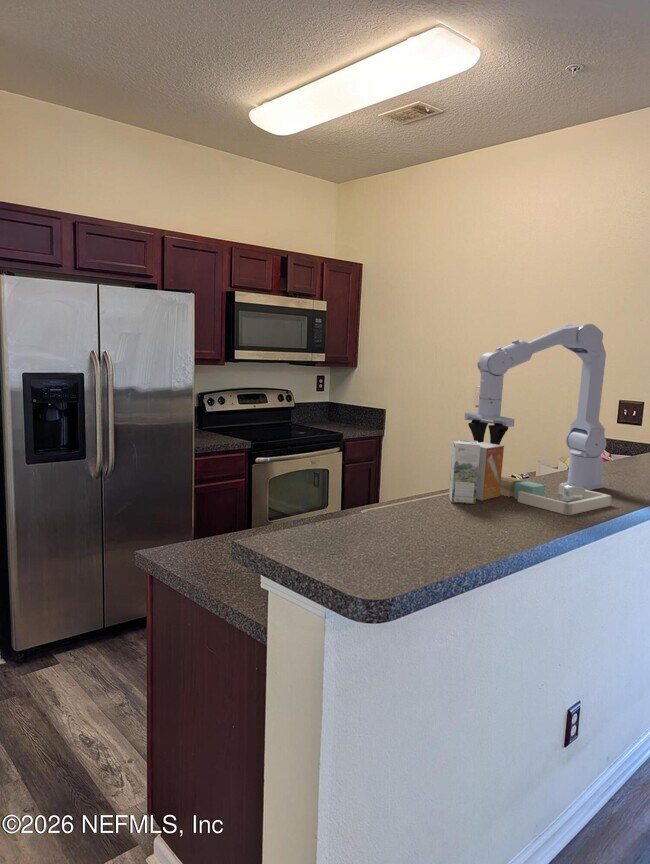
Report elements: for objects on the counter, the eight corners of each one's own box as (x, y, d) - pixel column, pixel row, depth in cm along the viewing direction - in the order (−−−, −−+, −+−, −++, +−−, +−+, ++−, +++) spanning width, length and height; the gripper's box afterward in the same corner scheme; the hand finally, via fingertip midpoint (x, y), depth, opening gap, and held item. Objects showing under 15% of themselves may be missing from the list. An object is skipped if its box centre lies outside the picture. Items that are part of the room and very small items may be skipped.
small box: (482, 501, 146) (487, 447, 144) (460, 496, 151) (464, 444, 149) (500, 496, 152) (504, 445, 150) (478, 491, 156) (482, 441, 154)
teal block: (526, 496, 154) (527, 481, 153) (543, 501, 150) (545, 485, 149) (513, 498, 151) (515, 483, 150) (531, 503, 147) (532, 487, 146)
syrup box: (472, 498, 148) (476, 440, 146) (475, 505, 142) (480, 443, 140) (448, 497, 149) (452, 438, 147) (451, 503, 143) (455, 442, 141)
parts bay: (560, 493, 158) (561, 484, 157) (610, 505, 147) (611, 495, 147) (517, 501, 147) (518, 491, 147) (568, 515, 136) (569, 504, 136)
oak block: (504, 491, 159) (506, 476, 158) (521, 495, 155) (522, 479, 154) (492, 493, 156) (493, 477, 155) (508, 497, 152) (510, 481, 151)
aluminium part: (569, 498, 153) (570, 482, 153) (587, 503, 149) (589, 487, 149) (557, 500, 150) (559, 485, 150) (576, 505, 146) (577, 489, 146)
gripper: (458, 396, 161) (454, 447, 163) (503, 401, 150) (499, 456, 152) (475, 396, 165) (472, 445, 167) (521, 401, 154) (516, 454, 156)
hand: (486, 450), depth 160 cm, fingers open, 4 cm apart
